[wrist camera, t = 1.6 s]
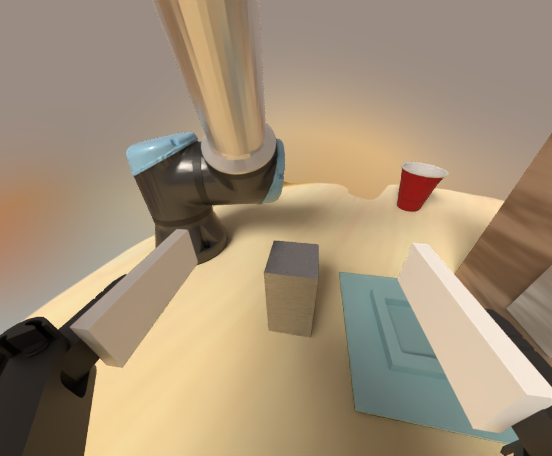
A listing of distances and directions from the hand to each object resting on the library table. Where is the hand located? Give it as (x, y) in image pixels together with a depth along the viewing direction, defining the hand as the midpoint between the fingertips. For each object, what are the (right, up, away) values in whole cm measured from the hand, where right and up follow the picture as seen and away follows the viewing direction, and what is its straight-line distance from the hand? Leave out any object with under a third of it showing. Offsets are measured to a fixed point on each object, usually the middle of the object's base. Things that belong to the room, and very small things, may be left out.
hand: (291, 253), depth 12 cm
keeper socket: (+19, -13, +16) cm, 28 cm away
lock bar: (+2, -12, +19) cm, 22 cm away
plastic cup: (+39, +8, +47) cm, 61 cm away
